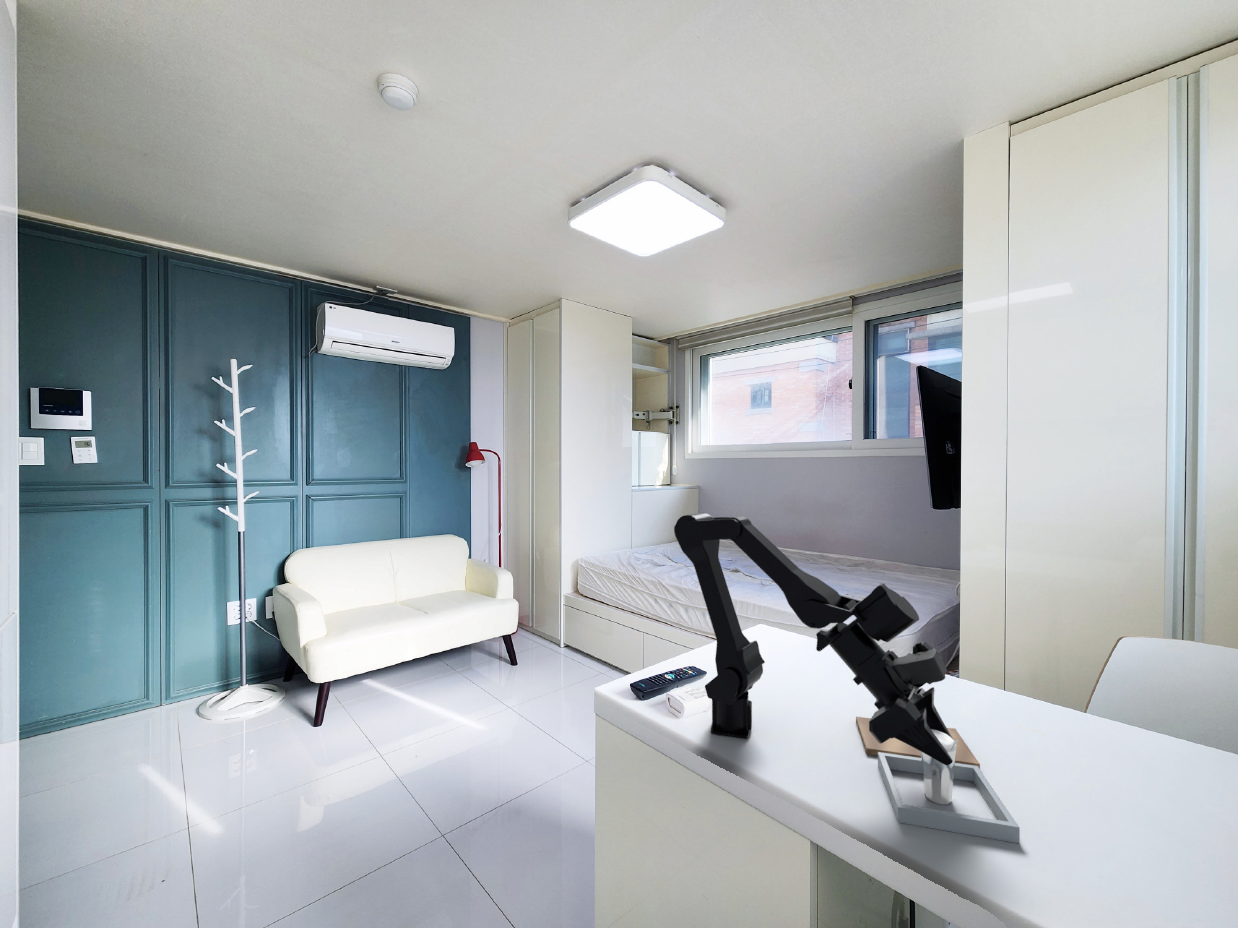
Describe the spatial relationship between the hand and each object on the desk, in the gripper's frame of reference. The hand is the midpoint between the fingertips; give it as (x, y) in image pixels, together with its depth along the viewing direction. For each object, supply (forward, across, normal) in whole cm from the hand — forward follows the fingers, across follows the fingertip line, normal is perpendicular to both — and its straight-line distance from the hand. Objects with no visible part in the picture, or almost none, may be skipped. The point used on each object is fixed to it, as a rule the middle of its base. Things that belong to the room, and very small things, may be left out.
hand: (952, 755), depth 71 cm
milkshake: (+4, 0, +6) cm, 7 cm away
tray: (+4, 0, +6) cm, 7 cm away
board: (0, +14, +10) cm, 17 cm away
